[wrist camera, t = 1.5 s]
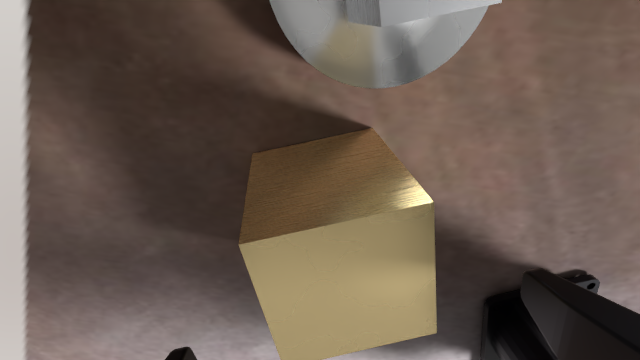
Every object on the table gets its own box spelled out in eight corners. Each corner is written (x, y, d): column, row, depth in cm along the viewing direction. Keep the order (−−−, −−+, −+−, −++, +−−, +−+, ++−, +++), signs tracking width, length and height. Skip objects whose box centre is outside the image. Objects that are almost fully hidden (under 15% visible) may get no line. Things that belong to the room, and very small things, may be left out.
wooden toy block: (383, 226, 16) (436, 333, 11) (280, 248, 16) (283, 368, 11) (372, 127, 14) (433, 201, 8) (252, 153, 14) (238, 245, 8)
